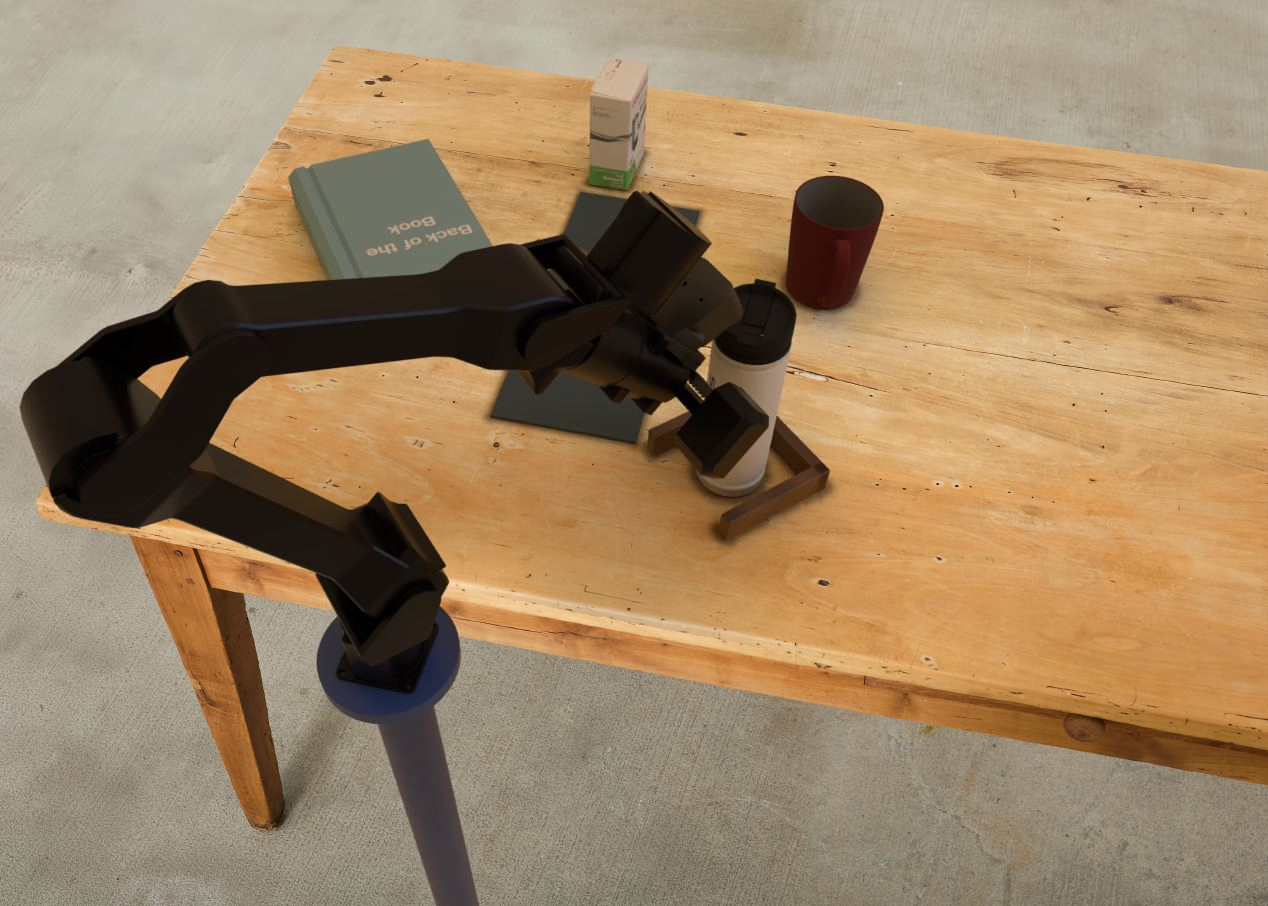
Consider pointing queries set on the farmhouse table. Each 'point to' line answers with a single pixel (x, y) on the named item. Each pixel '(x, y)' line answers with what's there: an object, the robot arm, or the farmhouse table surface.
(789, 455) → the u-shaped bracket
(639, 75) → the ink box
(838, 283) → the mug
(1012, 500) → the farmhouse table surface
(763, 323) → the travel mug
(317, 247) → the book
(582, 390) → the desk mat
